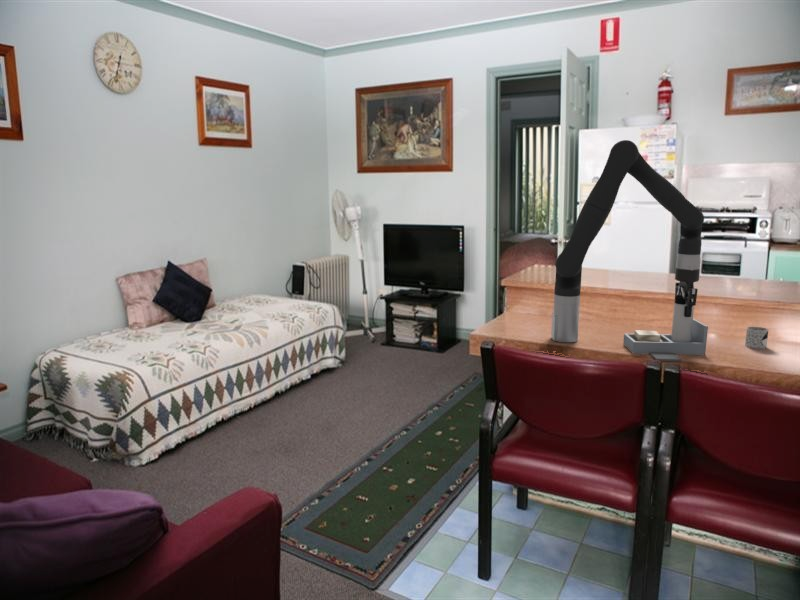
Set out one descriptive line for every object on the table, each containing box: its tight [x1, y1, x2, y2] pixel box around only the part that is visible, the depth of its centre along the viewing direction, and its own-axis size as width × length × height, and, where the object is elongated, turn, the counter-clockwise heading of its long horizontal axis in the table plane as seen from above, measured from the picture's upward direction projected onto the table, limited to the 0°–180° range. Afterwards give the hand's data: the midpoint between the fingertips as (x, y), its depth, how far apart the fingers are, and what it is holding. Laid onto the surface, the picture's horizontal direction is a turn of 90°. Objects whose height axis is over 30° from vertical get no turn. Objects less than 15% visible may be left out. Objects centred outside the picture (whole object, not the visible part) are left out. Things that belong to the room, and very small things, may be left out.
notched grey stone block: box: [744, 326, 769, 350], centre depth 218 cm, size 10×7×7 cm
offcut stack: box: [633, 329, 663, 342], centre depth 214 cm, size 8×7×6 cm
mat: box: [648, 352, 683, 363], centre depth 203 cm, size 8×8×1 cm
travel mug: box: [671, 294, 695, 342], centre depth 211 cm, size 6×7×20 cm
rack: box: [622, 318, 709, 356], centre depth 213 cm, size 24×12×10 cm, turn 85°
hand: (683, 314), depth 211 cm, fingers closed on travel mug, 6 cm apart
